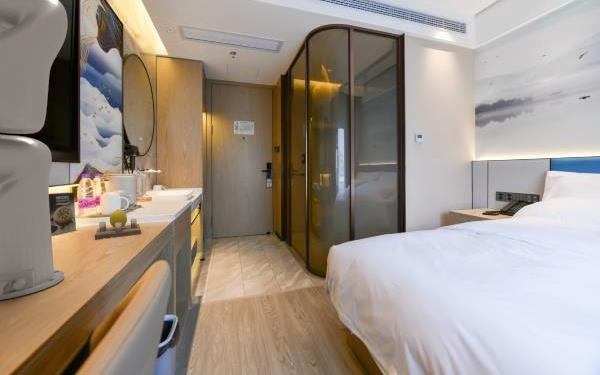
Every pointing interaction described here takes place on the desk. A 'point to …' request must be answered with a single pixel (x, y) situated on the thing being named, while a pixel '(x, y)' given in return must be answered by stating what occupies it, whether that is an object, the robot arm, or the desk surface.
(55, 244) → the desk surface
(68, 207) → the coffee box
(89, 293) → the desk surface
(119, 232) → the peg cradle
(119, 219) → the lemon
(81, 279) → the desk surface
